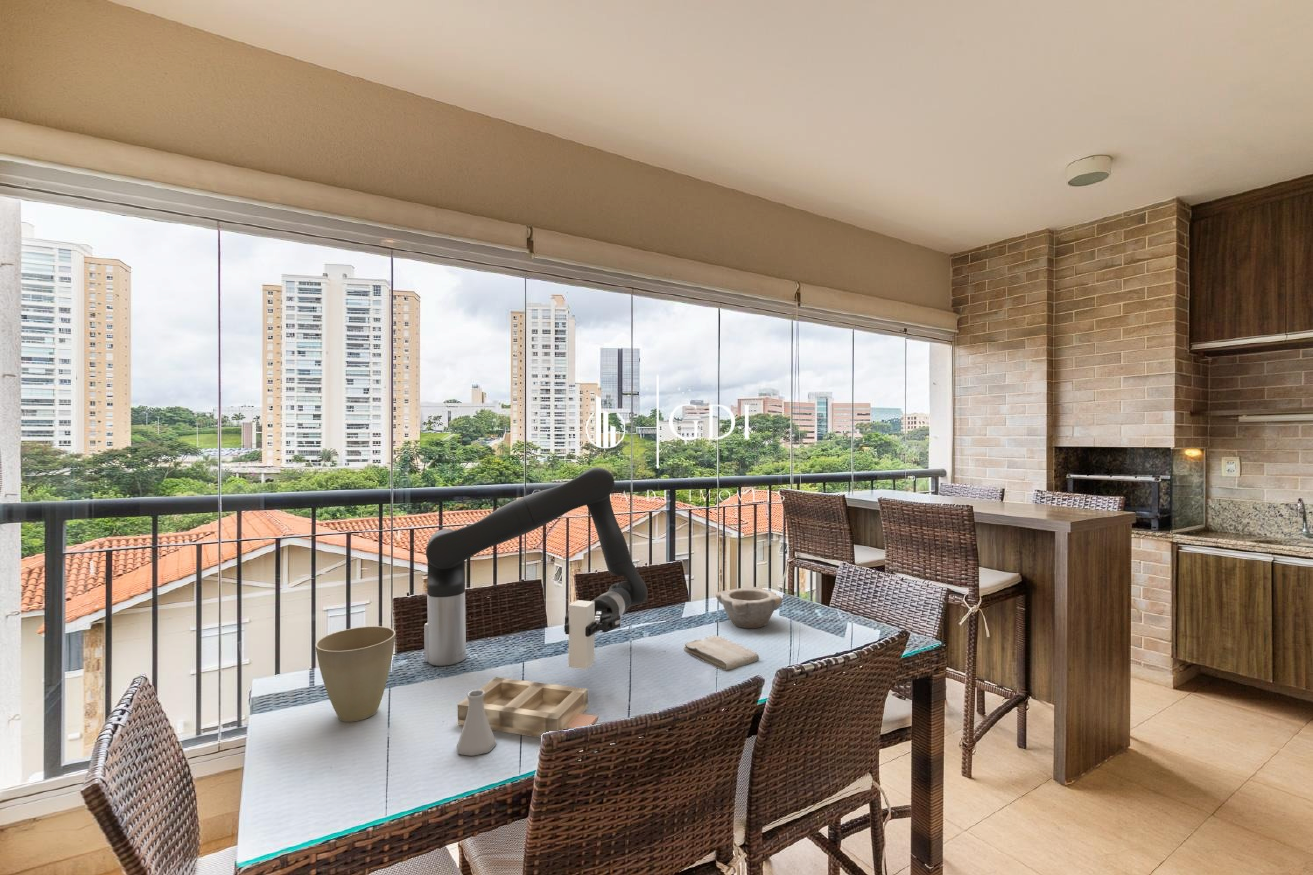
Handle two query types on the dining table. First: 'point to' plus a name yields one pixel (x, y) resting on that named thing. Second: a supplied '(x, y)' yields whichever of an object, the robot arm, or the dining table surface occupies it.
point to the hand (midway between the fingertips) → (576, 630)
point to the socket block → (531, 707)
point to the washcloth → (721, 652)
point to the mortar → (749, 606)
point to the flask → (476, 728)
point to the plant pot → (356, 669)
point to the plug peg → (581, 634)
